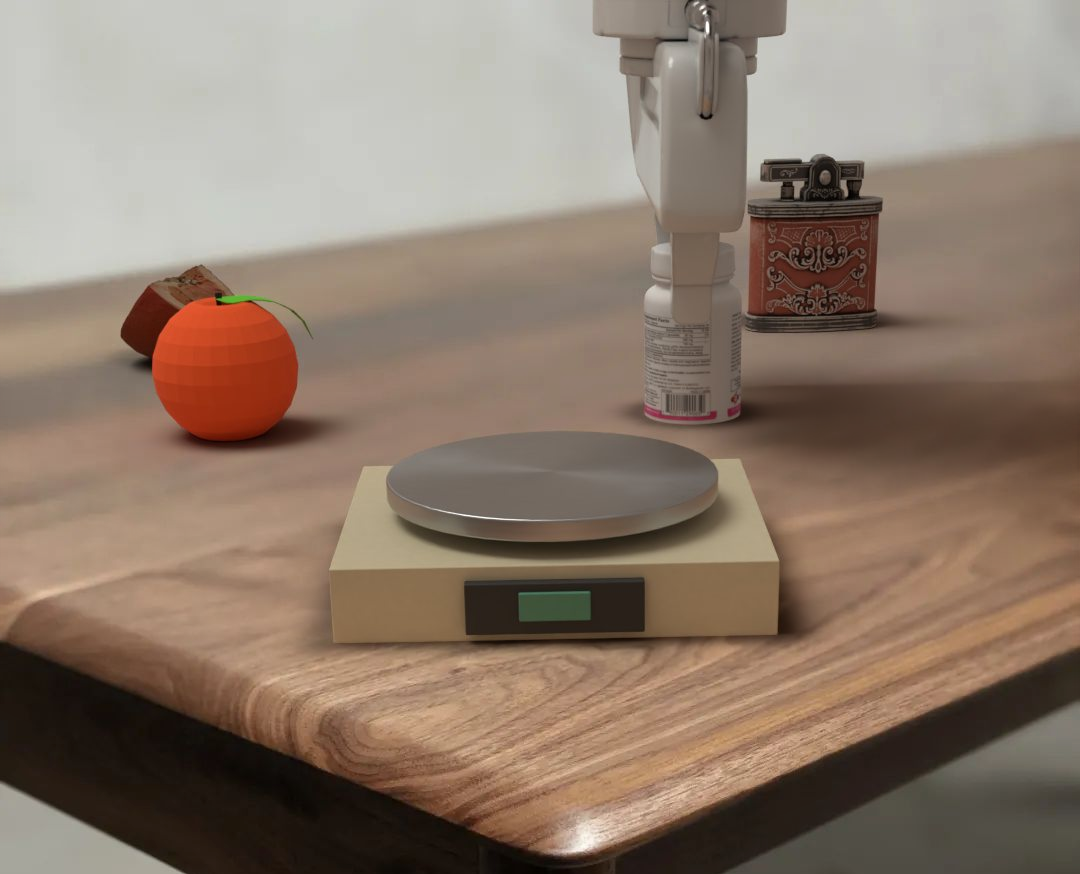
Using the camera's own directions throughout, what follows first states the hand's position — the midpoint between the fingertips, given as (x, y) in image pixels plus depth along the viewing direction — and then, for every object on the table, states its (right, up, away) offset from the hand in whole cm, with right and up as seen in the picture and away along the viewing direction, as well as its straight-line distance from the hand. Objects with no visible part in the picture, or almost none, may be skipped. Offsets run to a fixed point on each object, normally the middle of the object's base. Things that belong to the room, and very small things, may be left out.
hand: (681, 302), depth 89 cm
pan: (-6, -12, -22) cm, 26 cm away
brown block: (-27, +1, +18) cm, 33 cm away
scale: (-6, -15, -21) cm, 26 cm away
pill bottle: (+1, -5, +2) cm, 6 cm away
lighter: (+10, +4, +24) cm, 26 cm away
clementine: (-21, -7, +1) cm, 22 cm away
